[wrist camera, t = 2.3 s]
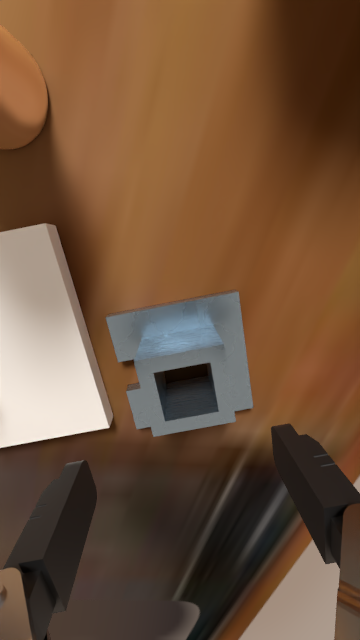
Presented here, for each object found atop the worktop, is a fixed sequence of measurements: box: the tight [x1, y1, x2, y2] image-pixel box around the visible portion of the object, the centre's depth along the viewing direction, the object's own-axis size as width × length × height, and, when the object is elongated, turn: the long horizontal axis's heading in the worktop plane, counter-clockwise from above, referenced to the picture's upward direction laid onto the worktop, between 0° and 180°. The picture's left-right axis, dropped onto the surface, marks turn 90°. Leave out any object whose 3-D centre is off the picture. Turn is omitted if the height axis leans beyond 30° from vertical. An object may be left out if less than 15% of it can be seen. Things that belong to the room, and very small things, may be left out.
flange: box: [106, 290, 253, 437], centre depth 18 cm, size 10×10×5 cm
